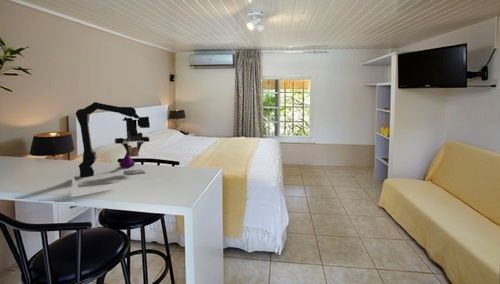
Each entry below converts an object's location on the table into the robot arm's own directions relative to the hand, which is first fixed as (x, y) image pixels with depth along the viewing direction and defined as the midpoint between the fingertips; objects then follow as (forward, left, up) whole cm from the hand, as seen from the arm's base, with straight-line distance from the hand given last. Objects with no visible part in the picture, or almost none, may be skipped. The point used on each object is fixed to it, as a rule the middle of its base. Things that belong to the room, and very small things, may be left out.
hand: (133, 154), depth 177 cm
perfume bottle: (0, +19, -12) cm, 22 cm away
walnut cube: (0, 0, -1) cm, 1 cm away
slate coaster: (0, 0, -11) cm, 11 cm away
